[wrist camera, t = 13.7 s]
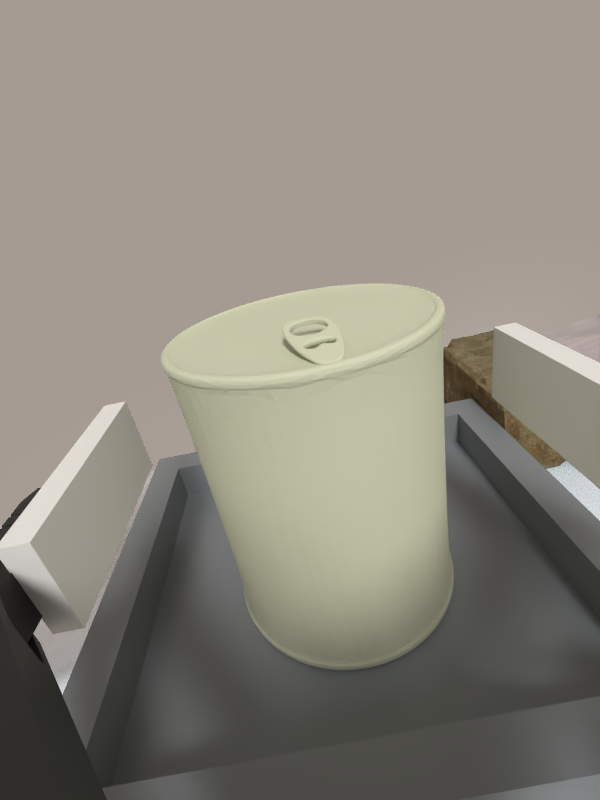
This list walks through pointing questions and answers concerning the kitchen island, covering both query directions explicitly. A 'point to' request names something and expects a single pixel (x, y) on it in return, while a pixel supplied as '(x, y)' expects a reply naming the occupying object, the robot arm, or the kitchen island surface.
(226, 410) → the can
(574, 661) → the tray
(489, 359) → the stone block
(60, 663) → the kitchen island surface
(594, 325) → the kitchen island surface
